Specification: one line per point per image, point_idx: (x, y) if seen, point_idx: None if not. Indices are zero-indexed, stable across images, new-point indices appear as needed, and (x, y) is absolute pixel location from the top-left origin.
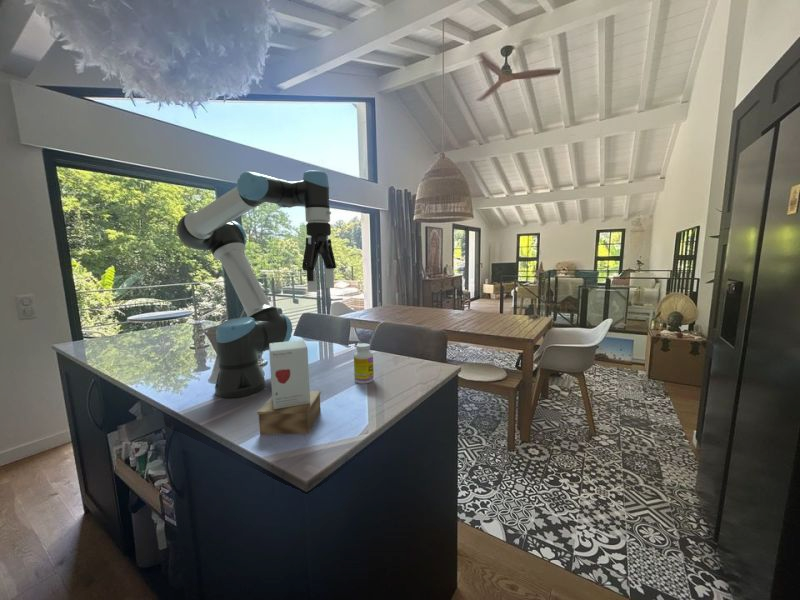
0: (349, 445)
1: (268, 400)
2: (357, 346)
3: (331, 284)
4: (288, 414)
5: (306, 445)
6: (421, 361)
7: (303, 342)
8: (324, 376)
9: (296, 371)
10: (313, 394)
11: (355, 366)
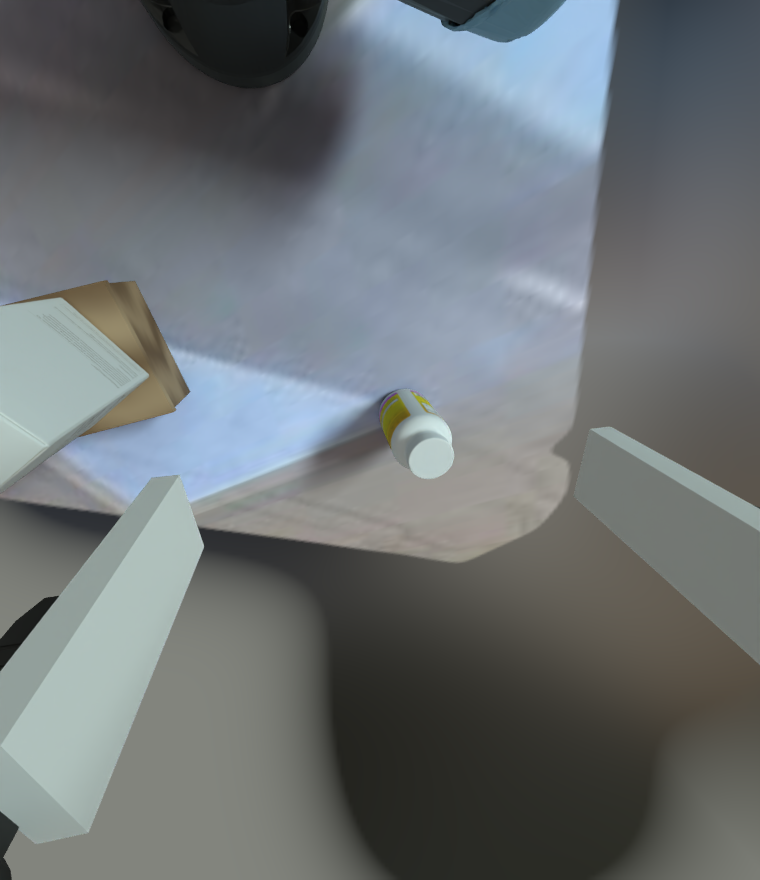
0: (95, 506)
1: (35, 299)
2: (413, 448)
3: (600, 501)
4: None
5: None
6: (554, 495)
7: (3, 475)
8: (421, 276)
9: None
10: (144, 405)
11: (392, 415)
